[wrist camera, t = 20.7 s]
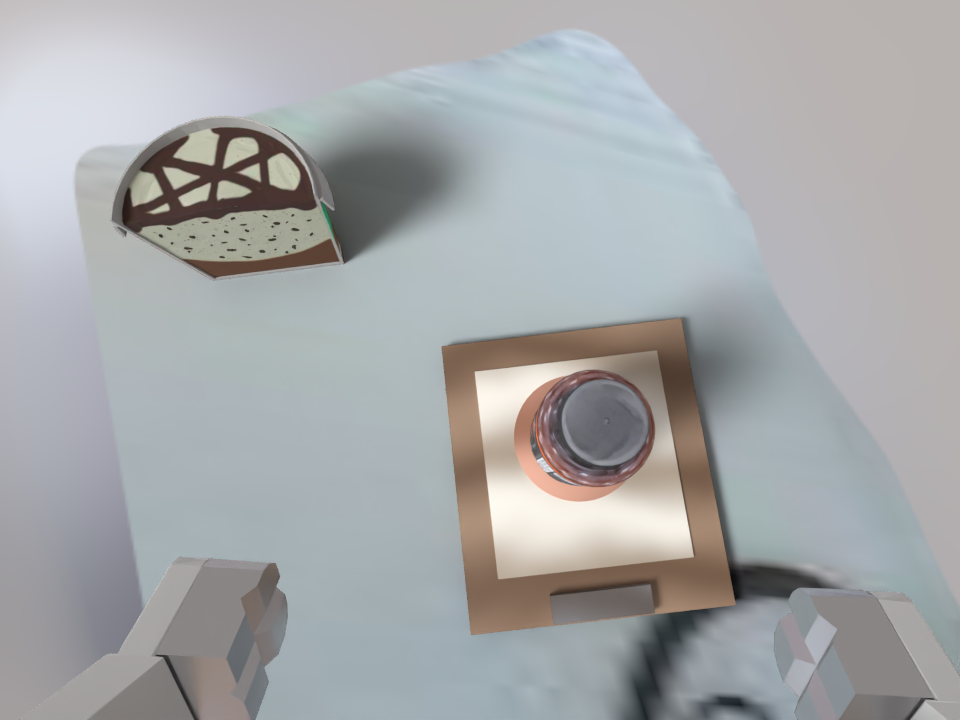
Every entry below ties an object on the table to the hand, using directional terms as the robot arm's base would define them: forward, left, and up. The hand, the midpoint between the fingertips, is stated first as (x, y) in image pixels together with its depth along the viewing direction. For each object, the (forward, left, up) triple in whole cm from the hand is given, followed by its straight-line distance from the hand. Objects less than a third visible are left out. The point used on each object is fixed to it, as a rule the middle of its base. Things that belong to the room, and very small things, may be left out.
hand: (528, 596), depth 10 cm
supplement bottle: (+4, -5, -28) cm, 29 cm away
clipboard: (+2, -5, -29) cm, 30 cm away
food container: (+21, +14, -30) cm, 39 cm away
